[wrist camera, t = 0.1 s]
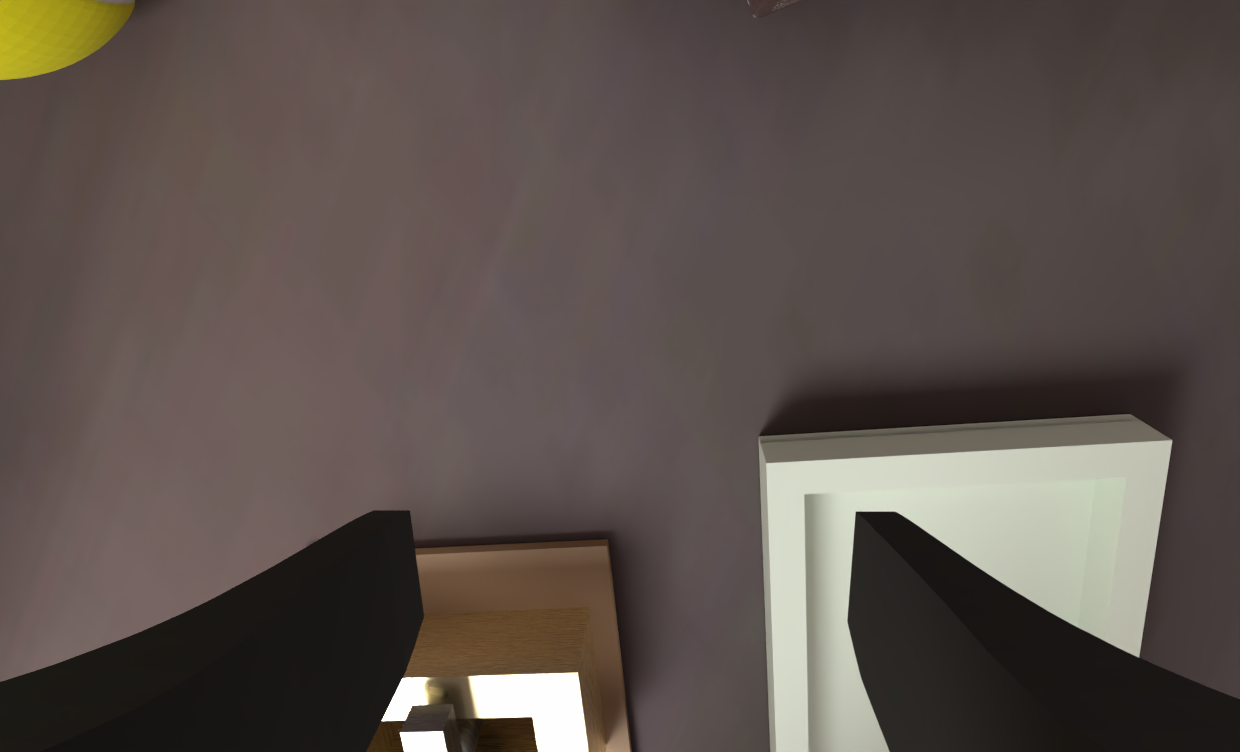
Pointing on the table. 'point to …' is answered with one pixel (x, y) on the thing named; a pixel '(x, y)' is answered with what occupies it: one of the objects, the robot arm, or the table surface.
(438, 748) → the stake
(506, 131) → the table surface
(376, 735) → the gold hollow block
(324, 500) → the table surface
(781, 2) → the box
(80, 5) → the tennis ball
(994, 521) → the tray
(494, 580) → the stake base
